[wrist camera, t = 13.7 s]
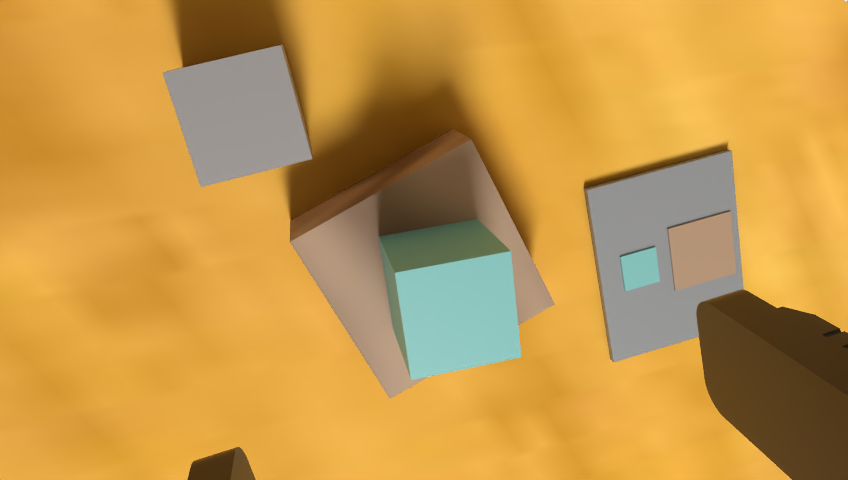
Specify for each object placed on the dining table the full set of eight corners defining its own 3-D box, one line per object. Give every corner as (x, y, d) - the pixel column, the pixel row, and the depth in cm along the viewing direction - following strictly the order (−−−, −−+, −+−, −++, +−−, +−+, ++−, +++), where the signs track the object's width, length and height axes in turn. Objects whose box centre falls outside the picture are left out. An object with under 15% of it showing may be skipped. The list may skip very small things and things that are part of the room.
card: (727, 149, 36) (732, 151, 36) (741, 319, 39) (747, 323, 39) (583, 188, 35) (588, 190, 35) (610, 358, 39) (614, 363, 38)
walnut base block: (451, 127, 34) (471, 139, 30) (528, 276, 37) (554, 304, 33) (290, 218, 34) (289, 241, 30) (380, 361, 37) (390, 398, 33)
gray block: (283, 43, 31) (280, 44, 26) (309, 141, 32) (312, 159, 28) (183, 67, 31) (162, 72, 26) (214, 165, 32) (200, 187, 27)
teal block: (477, 218, 31) (510, 251, 26) (487, 310, 32) (521, 357, 28) (378, 236, 30) (394, 272, 26) (393, 329, 32) (411, 380, 27)
